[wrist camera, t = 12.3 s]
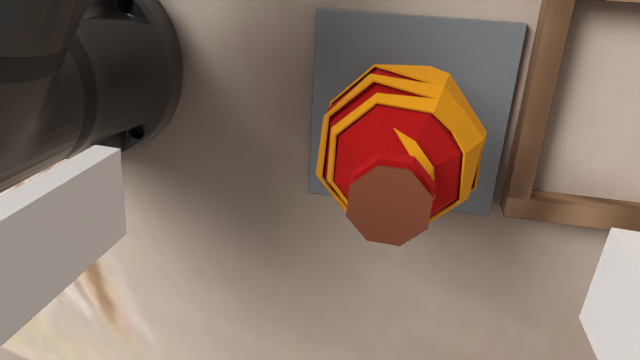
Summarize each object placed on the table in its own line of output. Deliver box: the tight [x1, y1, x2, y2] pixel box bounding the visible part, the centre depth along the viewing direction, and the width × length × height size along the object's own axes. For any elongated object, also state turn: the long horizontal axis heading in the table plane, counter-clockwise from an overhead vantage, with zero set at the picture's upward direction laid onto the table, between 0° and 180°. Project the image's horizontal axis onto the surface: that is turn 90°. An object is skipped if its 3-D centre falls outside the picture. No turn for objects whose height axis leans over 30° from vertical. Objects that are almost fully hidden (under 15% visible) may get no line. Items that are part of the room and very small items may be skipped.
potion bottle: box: [316, 64, 487, 246], centre depth 31 cm, size 10×10×15 cm
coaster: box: [308, 8, 527, 216], centre depth 38 cm, size 14×14×1 cm
